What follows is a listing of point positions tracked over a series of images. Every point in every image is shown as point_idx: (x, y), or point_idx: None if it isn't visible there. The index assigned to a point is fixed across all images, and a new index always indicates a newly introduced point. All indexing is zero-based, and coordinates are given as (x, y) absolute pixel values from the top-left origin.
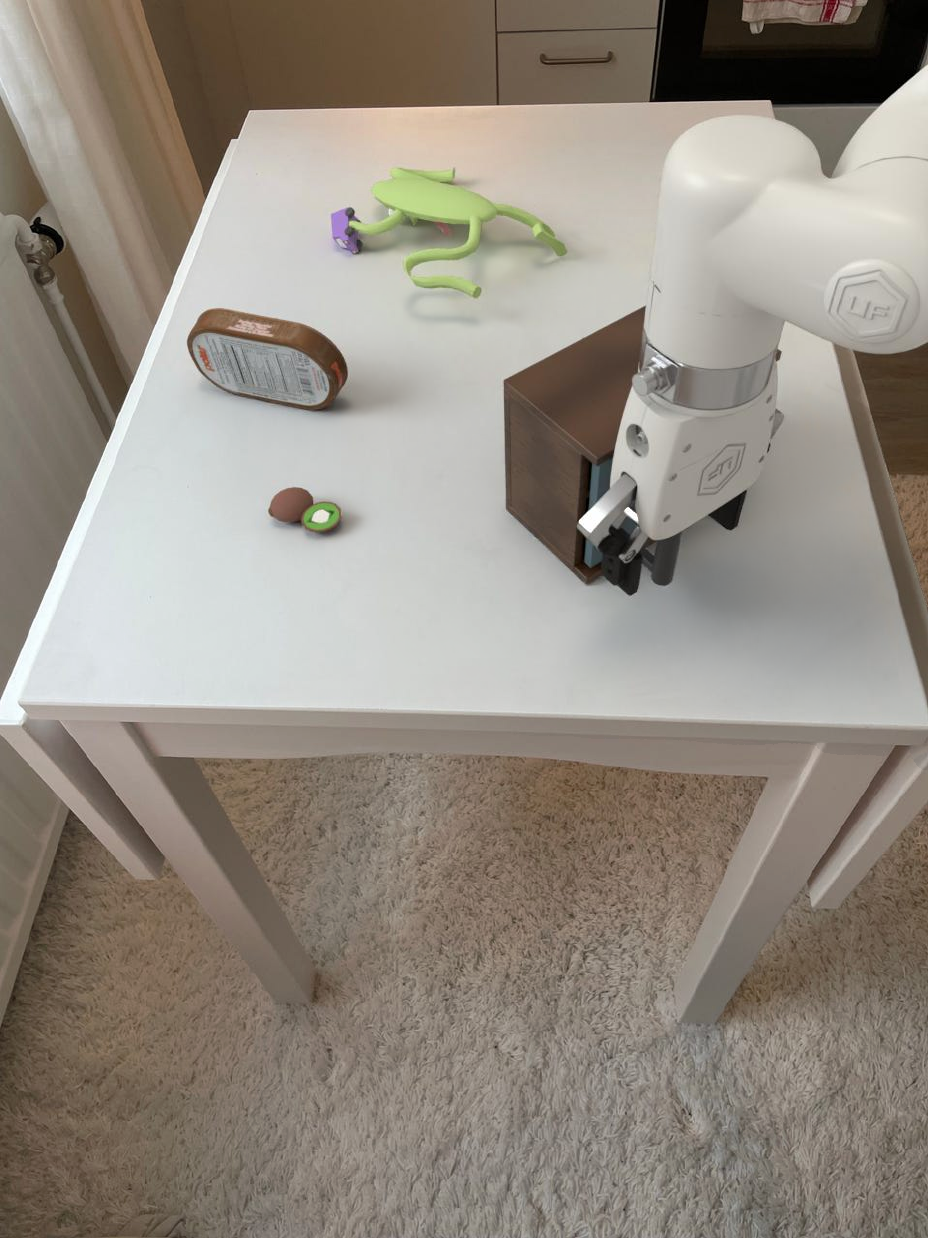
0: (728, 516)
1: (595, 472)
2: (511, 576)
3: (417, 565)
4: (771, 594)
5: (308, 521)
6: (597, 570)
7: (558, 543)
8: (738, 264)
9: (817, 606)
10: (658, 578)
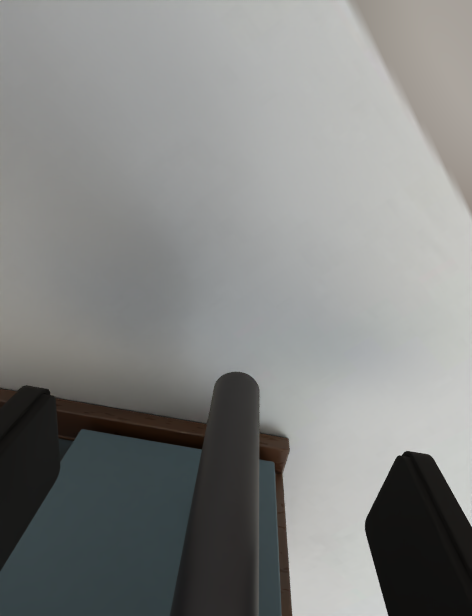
0: (23, 440)
1: None
2: (343, 509)
3: None
4: (67, 201)
5: None
6: (265, 448)
7: None
8: None
9: (9, 103)
10: (258, 401)
